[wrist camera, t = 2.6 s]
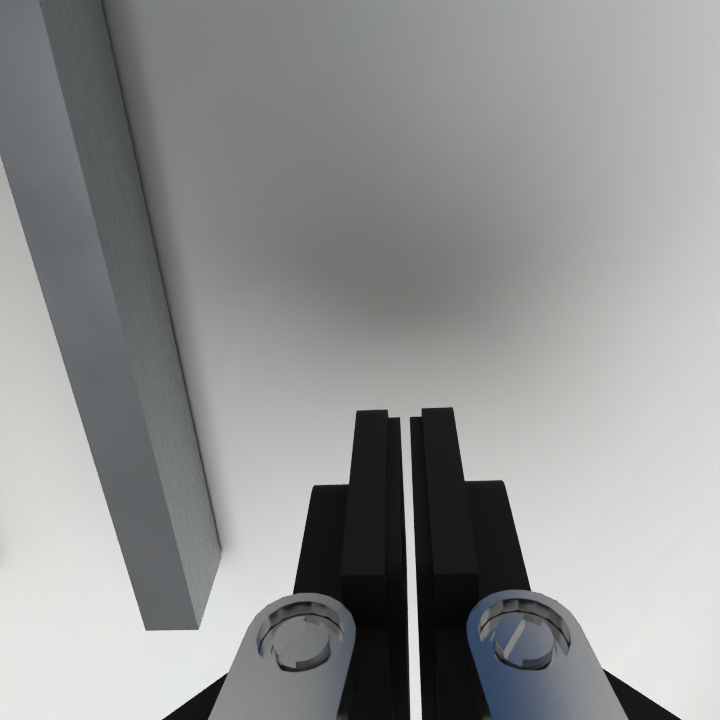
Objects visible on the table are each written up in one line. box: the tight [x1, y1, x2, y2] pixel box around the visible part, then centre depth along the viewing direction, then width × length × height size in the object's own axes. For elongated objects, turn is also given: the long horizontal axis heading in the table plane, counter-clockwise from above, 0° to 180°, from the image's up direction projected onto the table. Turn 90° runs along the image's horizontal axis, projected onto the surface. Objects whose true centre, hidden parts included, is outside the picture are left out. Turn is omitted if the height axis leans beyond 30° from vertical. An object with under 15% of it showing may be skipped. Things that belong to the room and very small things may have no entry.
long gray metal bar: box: [0, 0, 221, 631], centre depth 17 cm, size 18×2×3 cm, turn 4°
